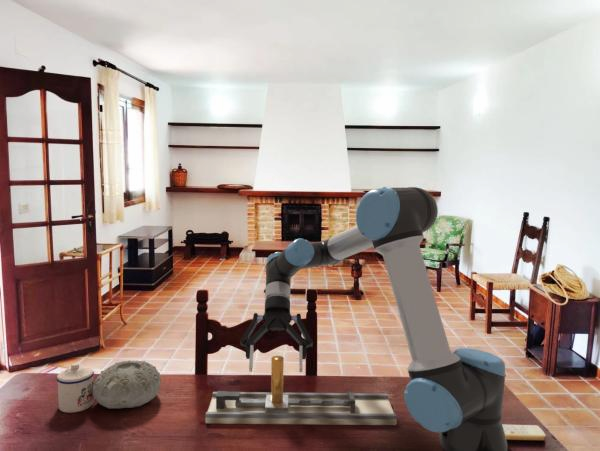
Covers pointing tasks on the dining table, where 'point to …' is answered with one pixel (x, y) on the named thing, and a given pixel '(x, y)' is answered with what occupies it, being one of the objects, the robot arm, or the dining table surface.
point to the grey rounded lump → (127, 384)
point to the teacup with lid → (75, 388)
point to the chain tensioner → (277, 399)
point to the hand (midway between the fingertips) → (275, 370)
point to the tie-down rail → (303, 410)
